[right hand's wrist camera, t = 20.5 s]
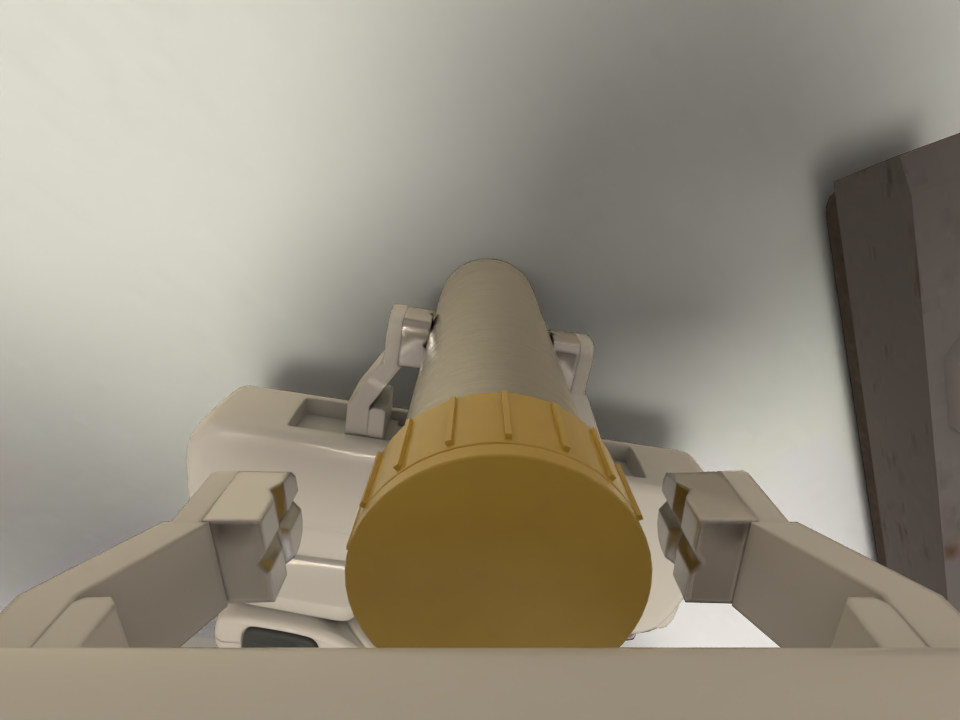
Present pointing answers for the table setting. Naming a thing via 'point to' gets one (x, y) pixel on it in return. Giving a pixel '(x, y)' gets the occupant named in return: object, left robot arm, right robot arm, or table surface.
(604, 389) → the table surface
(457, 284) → the thermos bottle
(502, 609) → the lid
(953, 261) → the toy
